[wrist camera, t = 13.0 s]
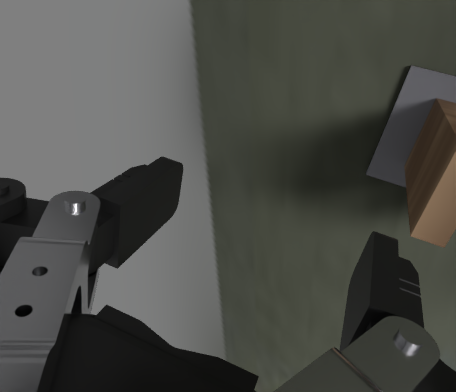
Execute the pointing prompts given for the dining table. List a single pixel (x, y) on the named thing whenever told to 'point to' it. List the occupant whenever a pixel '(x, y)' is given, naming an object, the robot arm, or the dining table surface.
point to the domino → (433, 177)
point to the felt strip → (409, 121)
